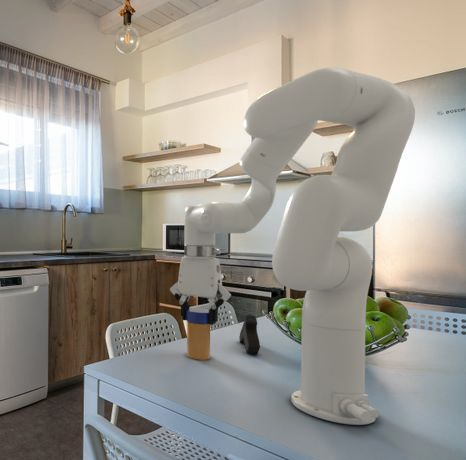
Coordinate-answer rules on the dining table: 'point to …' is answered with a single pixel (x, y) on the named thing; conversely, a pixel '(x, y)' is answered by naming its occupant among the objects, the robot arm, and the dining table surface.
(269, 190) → the robot arm
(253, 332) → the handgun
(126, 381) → the dining table surface
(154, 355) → the dining table surface
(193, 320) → the jar lid
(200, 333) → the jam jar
